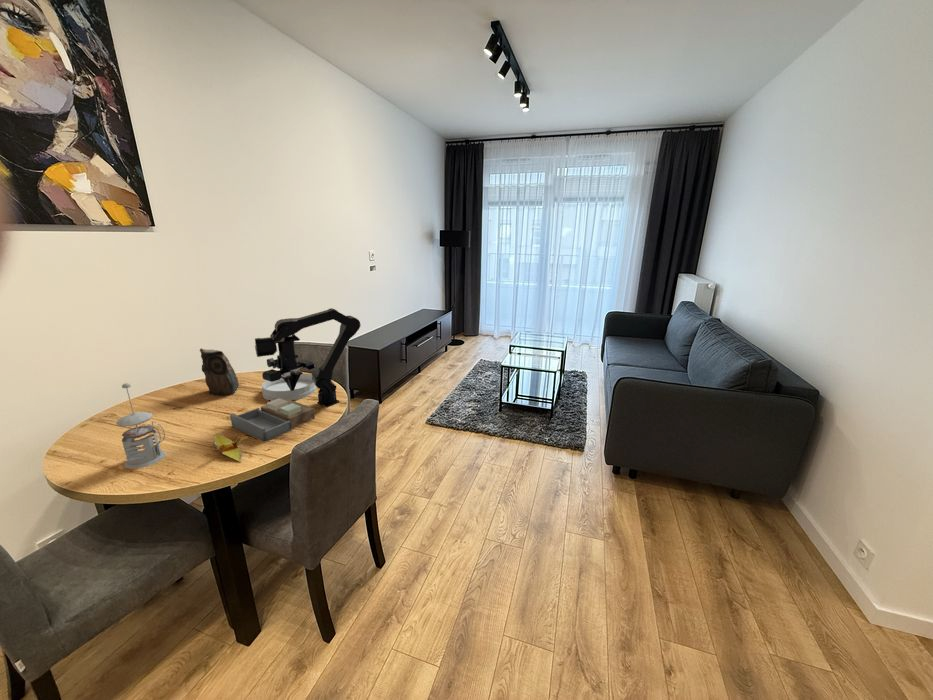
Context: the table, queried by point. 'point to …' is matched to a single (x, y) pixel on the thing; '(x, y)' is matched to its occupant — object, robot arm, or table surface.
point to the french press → (129, 443)
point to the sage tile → (290, 409)
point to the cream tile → (277, 404)
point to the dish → (282, 390)
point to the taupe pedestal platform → (296, 418)
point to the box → (260, 424)
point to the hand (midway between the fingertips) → (292, 390)
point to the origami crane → (229, 446)
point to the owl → (218, 373)
